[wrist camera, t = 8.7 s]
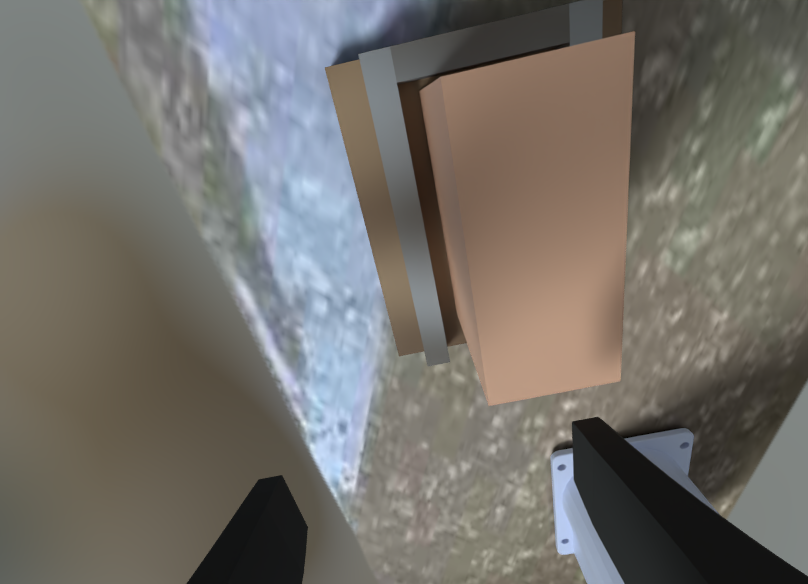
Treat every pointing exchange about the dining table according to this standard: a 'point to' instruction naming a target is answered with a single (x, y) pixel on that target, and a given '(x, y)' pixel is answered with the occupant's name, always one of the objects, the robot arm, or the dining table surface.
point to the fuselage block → (537, 213)
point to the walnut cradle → (410, 160)
